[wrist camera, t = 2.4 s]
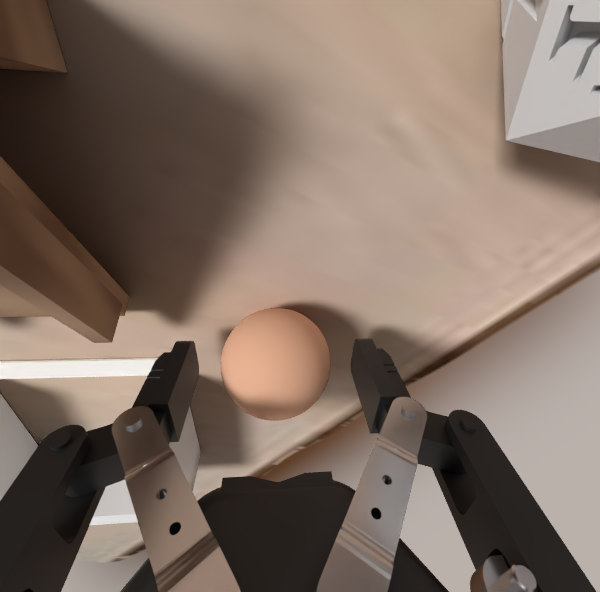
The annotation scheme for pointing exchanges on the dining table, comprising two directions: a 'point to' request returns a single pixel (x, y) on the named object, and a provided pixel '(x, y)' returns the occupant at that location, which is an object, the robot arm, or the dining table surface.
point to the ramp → (46, 212)
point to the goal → (116, 499)
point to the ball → (275, 364)
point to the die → (552, 75)
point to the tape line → (75, 368)
